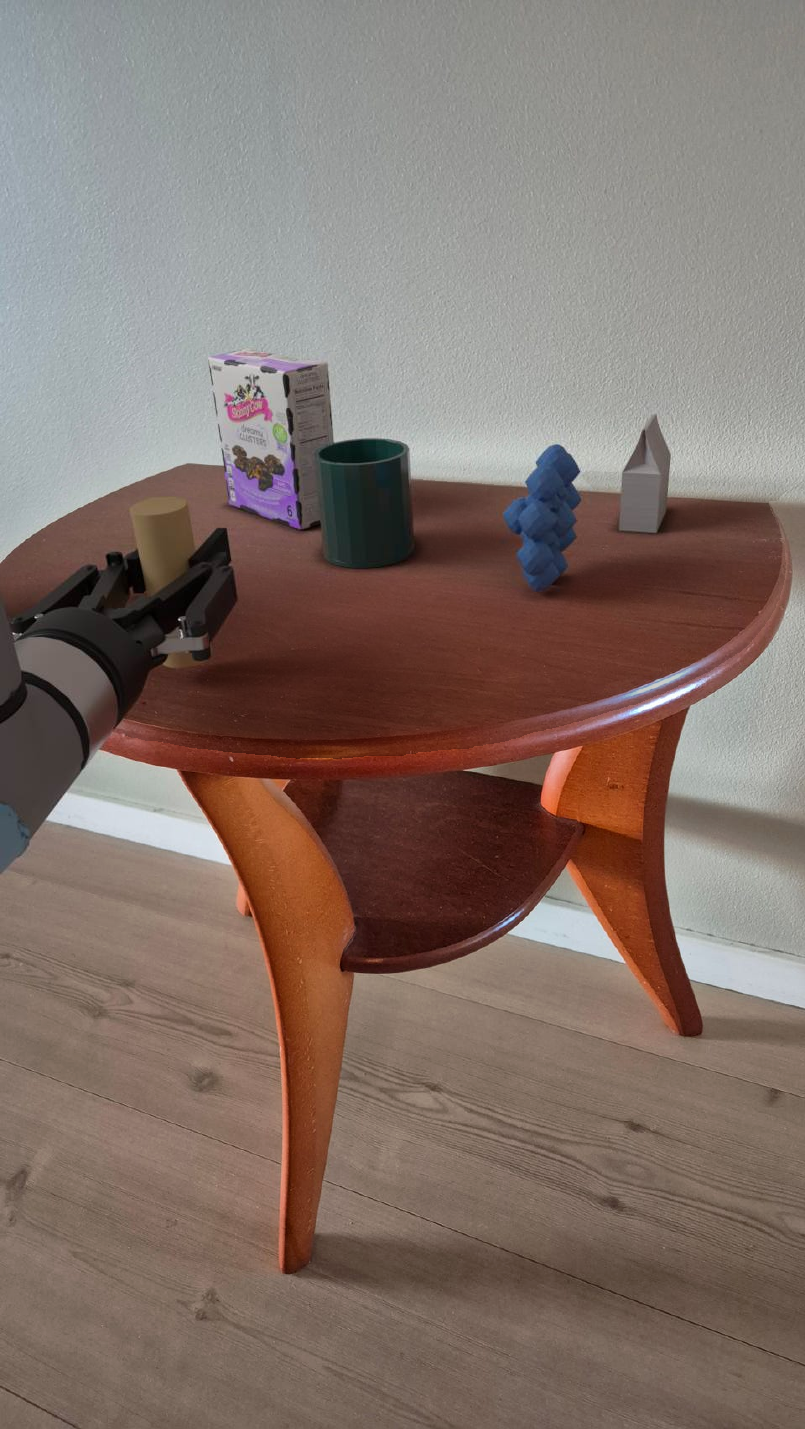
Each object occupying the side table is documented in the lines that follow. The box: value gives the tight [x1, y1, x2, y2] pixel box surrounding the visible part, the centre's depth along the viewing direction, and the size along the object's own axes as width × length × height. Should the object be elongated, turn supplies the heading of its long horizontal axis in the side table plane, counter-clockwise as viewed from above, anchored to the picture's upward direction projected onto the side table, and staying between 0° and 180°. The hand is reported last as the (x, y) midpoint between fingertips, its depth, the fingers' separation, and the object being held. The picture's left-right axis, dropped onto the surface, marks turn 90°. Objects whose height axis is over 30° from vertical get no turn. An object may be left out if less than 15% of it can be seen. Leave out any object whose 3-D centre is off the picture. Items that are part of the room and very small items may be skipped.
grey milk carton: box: [618, 413, 672, 534], centre depth 99 cm, size 4×7×10 cm, turn 159°
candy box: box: [207, 348, 335, 531], centre depth 106 cm, size 14×6×16 cm, turn 43°
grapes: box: [502, 443, 582, 593], centre depth 86 cm, size 12×7×12 cm, turn 157°
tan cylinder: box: [129, 495, 213, 669], centre depth 73 cm, size 4×4×12 cm
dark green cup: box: [313, 437, 415, 569], centre depth 96 cm, size 9×9×10 cm
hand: (195, 544), depth 77 cm, fingers closed on tan cylinder, 4 cm apart
